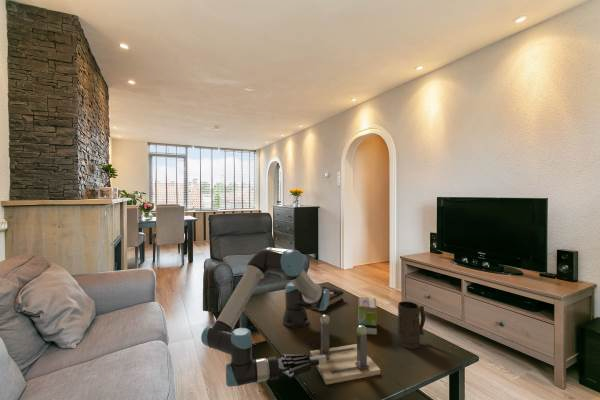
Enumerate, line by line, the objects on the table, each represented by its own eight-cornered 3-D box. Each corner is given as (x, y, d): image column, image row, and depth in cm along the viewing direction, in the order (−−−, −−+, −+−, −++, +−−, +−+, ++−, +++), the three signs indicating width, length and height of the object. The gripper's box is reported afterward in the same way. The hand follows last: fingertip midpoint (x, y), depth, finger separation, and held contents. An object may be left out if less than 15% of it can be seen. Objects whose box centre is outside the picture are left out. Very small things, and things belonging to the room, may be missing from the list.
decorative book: (298, 294, 191) (324, 284, 213) (298, 306, 191) (324, 294, 213) (320, 301, 178) (346, 290, 200) (320, 313, 178) (346, 300, 200)
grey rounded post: (354, 364, 120) (354, 323, 120) (364, 362, 121) (364, 322, 121) (359, 370, 116) (359, 328, 116) (369, 368, 117) (369, 327, 117)
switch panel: (310, 355, 131) (310, 350, 131) (357, 347, 137) (357, 343, 137) (326, 384, 111) (326, 378, 111) (380, 374, 117) (380, 368, 117)
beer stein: (408, 351, 134) (410, 309, 134) (391, 341, 143) (393, 301, 144) (430, 345, 141) (432, 305, 141) (412, 336, 150) (414, 298, 151)
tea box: (377, 335, 150) (377, 307, 150) (358, 333, 152) (358, 306, 152) (375, 322, 165) (375, 297, 164) (358, 321, 167) (358, 296, 166)
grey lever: (318, 350, 131) (318, 313, 130) (327, 349, 132) (327, 312, 132) (322, 356, 127) (321, 317, 126) (331, 354, 128) (331, 316, 127)
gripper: (265, 368, 114) (320, 359, 120) (270, 389, 101) (331, 378, 108) (264, 350, 114) (320, 341, 120) (270, 369, 101) (331, 358, 108)
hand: (325, 358), depth 114 cm, fingers closed
